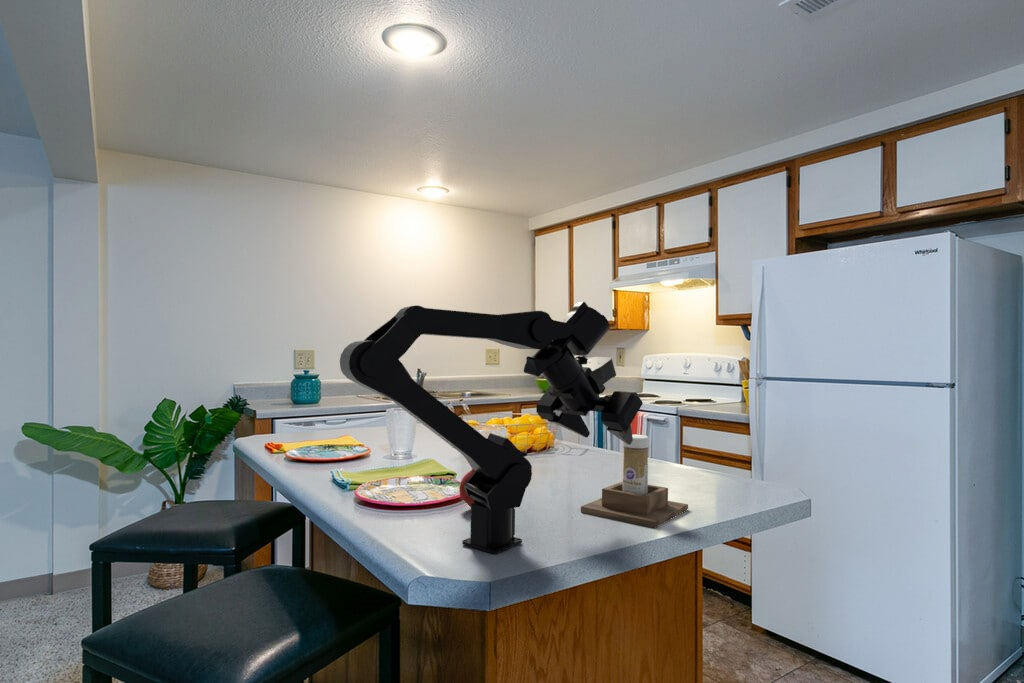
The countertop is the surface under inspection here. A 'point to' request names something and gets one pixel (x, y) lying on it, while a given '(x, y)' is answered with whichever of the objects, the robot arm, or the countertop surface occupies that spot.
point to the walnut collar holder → (635, 506)
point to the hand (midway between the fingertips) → (608, 438)
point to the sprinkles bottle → (636, 465)
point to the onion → (463, 491)
